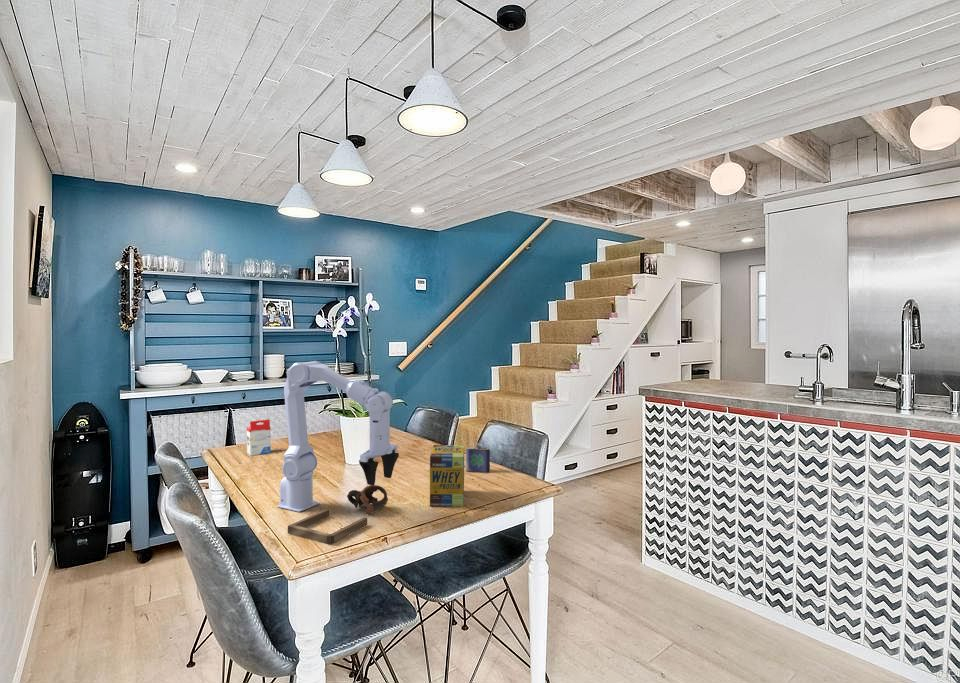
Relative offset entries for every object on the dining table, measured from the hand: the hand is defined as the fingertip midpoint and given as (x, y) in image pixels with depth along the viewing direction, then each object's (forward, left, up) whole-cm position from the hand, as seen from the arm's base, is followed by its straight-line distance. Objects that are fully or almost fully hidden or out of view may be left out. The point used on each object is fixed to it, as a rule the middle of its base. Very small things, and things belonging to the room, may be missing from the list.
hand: (379, 481), depth 144 cm
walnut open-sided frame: (-5, -15, -10) cm, 19 cm away
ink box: (-90, +32, -10) cm, 97 cm away
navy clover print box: (+6, +52, -10) cm, 53 cm away
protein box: (+11, +21, -10) cm, 26 cm away
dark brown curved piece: (-6, +2, -10) cm, 12 cm away
